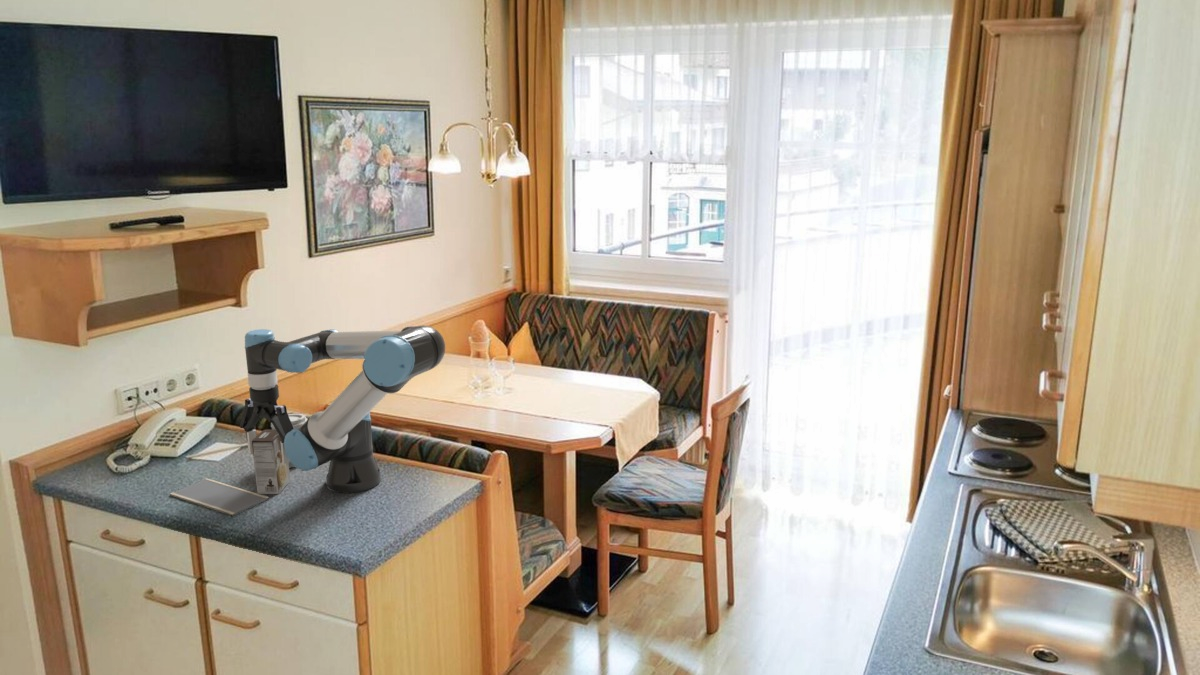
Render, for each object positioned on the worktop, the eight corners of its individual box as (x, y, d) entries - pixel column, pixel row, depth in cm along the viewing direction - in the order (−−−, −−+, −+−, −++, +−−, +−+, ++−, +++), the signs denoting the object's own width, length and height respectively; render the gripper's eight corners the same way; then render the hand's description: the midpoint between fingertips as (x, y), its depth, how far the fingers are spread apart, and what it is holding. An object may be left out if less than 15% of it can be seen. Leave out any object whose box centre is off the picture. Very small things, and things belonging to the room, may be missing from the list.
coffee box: (269, 480, 261) (263, 428, 257) (291, 481, 261) (286, 428, 257) (256, 494, 252) (250, 440, 248) (279, 494, 252) (274, 440, 248)
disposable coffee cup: (266, 465, 272) (261, 418, 268) (295, 454, 280) (291, 408, 277) (290, 473, 266) (286, 425, 262) (319, 461, 275) (315, 414, 271)
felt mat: (269, 499, 249) (269, 497, 249) (232, 516, 239) (232, 514, 239) (207, 480, 261) (206, 478, 261) (169, 495, 251) (169, 493, 251)
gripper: (306, 389, 246) (312, 461, 251) (244, 374, 258) (250, 444, 263) (284, 397, 240) (291, 471, 245) (221, 381, 251) (229, 452, 257)
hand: (270, 457), depth 254 cm, fingers open, 13 cm apart
